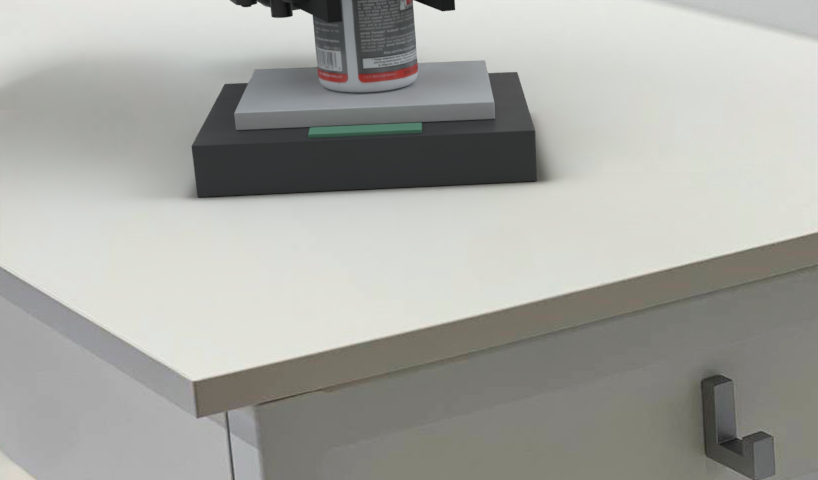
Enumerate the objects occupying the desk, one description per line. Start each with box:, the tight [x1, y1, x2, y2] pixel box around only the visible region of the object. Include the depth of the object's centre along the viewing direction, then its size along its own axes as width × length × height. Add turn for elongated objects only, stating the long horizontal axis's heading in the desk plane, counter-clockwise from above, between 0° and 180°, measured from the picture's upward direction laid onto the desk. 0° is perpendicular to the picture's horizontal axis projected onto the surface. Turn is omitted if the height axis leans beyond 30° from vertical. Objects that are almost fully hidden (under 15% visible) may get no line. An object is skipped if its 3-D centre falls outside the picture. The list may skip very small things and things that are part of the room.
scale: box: [191, 59, 538, 198], centre depth 93 cm, size 18×16×4 cm
